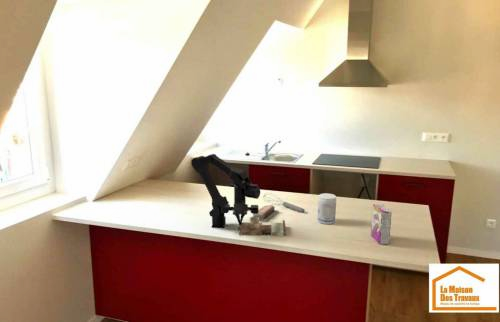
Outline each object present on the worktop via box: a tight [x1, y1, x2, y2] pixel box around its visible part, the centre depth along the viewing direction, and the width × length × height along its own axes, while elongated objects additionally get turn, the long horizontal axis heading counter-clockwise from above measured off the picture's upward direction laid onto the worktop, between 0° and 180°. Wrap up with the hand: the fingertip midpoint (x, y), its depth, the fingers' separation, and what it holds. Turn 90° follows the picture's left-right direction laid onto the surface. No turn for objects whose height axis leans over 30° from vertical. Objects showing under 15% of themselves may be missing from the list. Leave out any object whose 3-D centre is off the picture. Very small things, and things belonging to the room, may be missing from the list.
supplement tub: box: [317, 192, 337, 225], centre depth 202 cm, size 10×10×15 cm
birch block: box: [249, 216, 260, 229], centre depth 190 cm, size 4×4×4 cm
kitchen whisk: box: [262, 192, 306, 214], centre depth 226 cm, size 6×34×6 cm, turn 45°
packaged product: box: [252, 204, 279, 223], centre depth 212 cm, size 18×5×10 cm
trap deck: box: [238, 219, 287, 237], centre depth 191 cm, size 23×12×4 cm, turn 87°
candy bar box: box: [370, 203, 392, 246], centre depth 178 cm, size 11×5×16 cm, turn 5°
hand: (240, 224), depth 191 cm, fingers closed
